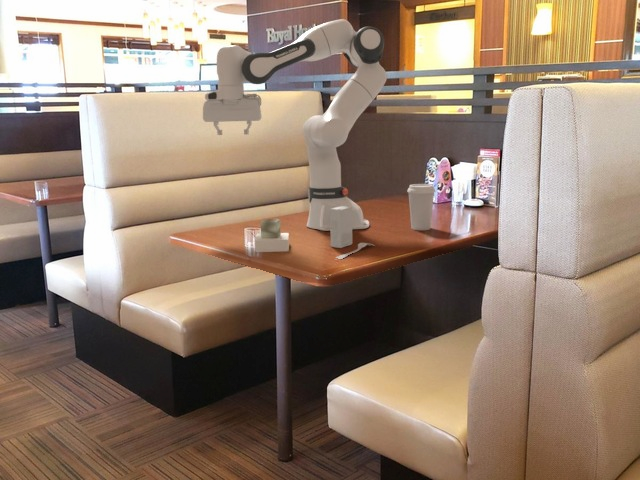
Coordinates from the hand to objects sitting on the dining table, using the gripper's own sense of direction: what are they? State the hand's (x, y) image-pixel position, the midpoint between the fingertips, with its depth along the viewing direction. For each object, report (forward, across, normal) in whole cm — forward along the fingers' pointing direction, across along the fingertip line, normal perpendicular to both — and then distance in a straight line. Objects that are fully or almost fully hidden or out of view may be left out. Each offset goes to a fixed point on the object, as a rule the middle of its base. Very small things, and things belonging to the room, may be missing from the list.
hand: (233, 134), depth 223 cm
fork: (+34, -42, +40) cm, 67 cm away
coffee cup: (+33, -65, +7) cm, 73 cm away
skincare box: (+33, -38, +32) cm, 60 cm away
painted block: (+34, -17, +33) cm, 50 cm away
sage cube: (+30, -16, +33) cm, 47 cm away
